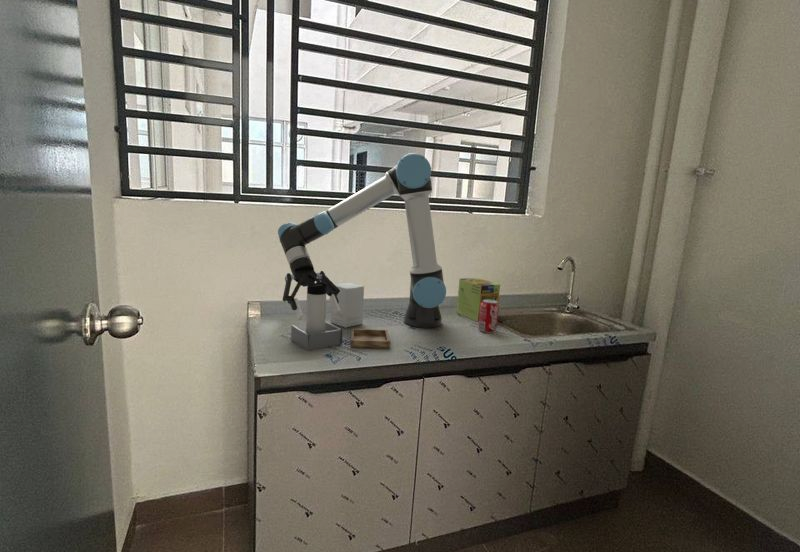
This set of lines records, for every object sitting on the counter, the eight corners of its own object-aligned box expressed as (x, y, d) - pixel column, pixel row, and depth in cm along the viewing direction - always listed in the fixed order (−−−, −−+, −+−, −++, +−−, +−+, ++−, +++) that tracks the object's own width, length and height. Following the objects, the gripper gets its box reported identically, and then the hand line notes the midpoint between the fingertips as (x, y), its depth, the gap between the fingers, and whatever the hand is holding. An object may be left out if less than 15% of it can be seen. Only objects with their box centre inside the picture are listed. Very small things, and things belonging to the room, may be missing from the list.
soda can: (498, 330, 173) (501, 300, 171) (494, 335, 167) (497, 304, 165) (480, 327, 176) (483, 297, 174) (475, 331, 170) (478, 301, 168)
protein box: (478, 322, 183) (481, 285, 180) (455, 312, 196) (458, 278, 194) (497, 320, 188) (501, 284, 185) (474, 310, 201) (477, 277, 199)
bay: (342, 344, 147) (342, 329, 146) (307, 350, 139) (307, 335, 138) (324, 334, 156) (324, 320, 155) (291, 339, 148) (291, 325, 147)
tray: (386, 336, 158) (387, 329, 157) (389, 348, 145) (390, 341, 145) (351, 335, 156) (351, 328, 156) (351, 347, 144) (351, 340, 143)
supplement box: (363, 324, 171) (365, 286, 168) (345, 328, 164) (346, 288, 162) (348, 318, 177) (349, 282, 174) (330, 322, 170) (331, 284, 168)
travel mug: (321, 345, 144) (323, 285, 140) (302, 343, 145) (304, 283, 142) (328, 339, 150) (330, 282, 147) (310, 337, 151) (311, 280, 148)
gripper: (327, 266, 163) (347, 316, 155) (261, 271, 148) (280, 326, 139) (335, 254, 158) (356, 304, 150) (268, 257, 143) (287, 313, 134)
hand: (320, 315), depth 144 cm, fingers open, 13 cm apart
